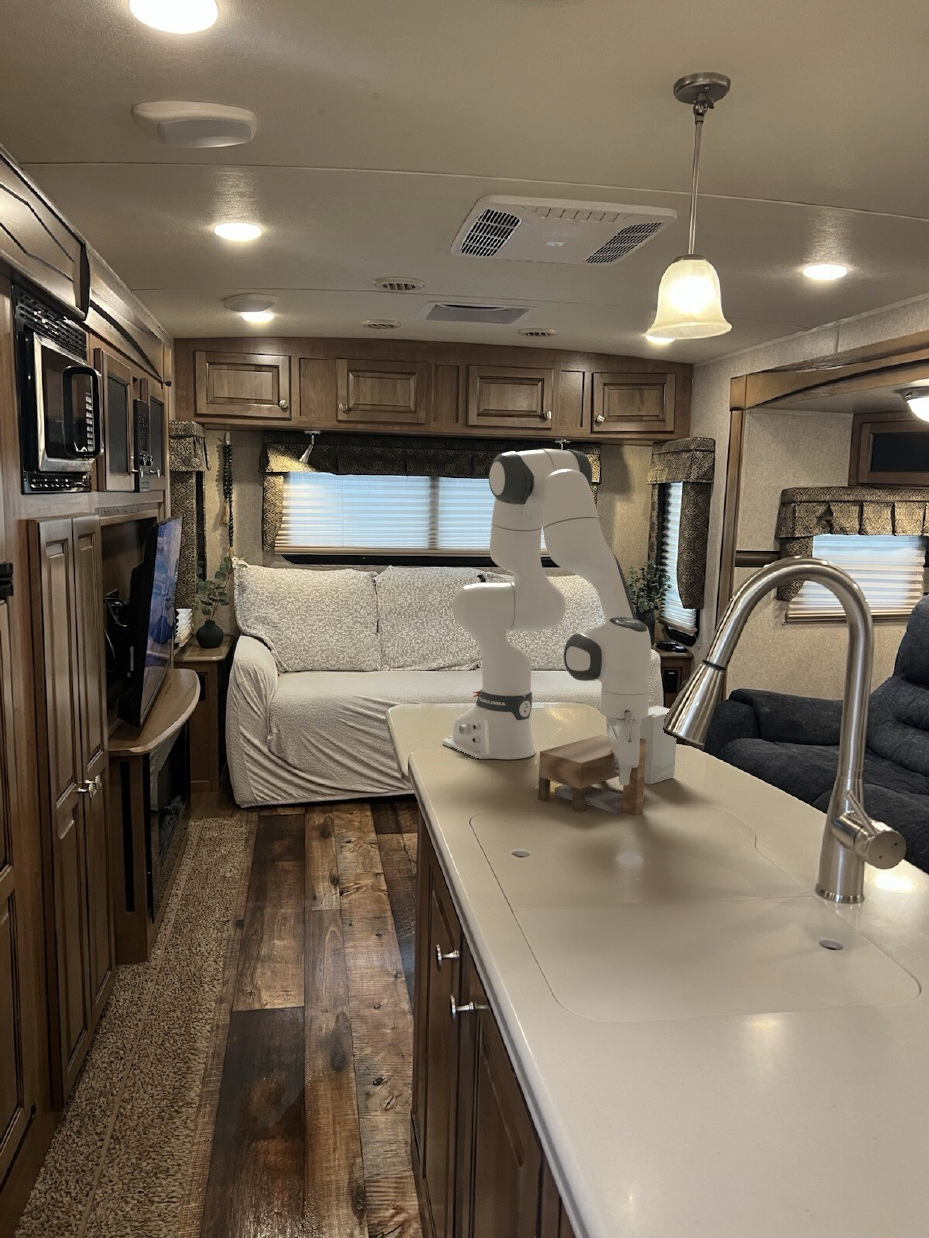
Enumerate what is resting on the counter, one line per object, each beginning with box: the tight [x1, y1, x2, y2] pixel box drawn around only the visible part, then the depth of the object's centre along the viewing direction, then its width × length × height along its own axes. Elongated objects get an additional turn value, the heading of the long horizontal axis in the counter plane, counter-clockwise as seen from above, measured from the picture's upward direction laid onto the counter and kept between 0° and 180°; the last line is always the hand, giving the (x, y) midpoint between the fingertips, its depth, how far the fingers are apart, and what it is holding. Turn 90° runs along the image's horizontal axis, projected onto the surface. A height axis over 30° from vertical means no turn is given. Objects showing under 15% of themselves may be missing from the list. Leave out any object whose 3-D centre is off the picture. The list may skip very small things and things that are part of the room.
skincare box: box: [639, 705, 677, 785], centre depth 193 cm, size 8×6×15 cm
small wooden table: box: [537, 734, 619, 813], centre depth 181 cm, size 10×20×10 cm, turn 135°
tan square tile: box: [534, 781, 562, 796], centre depth 185 cm, size 5×5×1 cm
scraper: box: [554, 738, 646, 816], centre depth 177 cm, size 18×6×14 cm, turn 48°
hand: (621, 777), depth 172 cm, fingers open, 6 cm apart
